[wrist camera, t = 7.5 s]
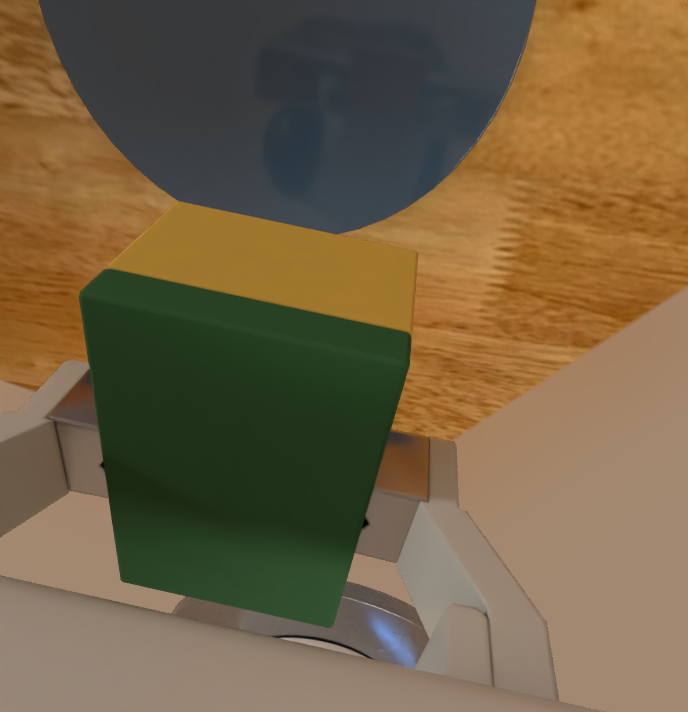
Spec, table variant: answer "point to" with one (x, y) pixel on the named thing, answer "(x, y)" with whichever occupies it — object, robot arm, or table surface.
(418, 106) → the plate
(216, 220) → the sponge
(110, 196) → the table surface
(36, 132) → the table surface
